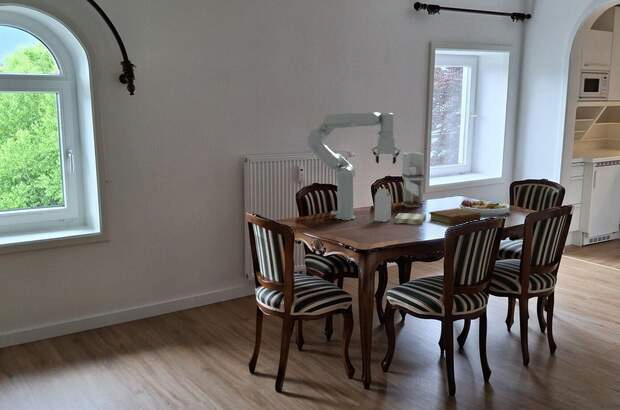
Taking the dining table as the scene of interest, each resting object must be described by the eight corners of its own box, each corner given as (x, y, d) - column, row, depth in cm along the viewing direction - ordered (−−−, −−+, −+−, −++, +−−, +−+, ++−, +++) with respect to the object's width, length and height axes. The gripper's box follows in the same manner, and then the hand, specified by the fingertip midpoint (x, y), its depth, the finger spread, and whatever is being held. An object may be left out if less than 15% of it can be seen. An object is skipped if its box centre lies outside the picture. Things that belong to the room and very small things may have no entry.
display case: (401, 204, 416) (402, 152, 410) (416, 203, 418) (417, 152, 412) (407, 207, 405) (408, 154, 399) (422, 206, 407) (423, 154, 401)
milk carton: (384, 222, 358) (385, 190, 355) (374, 220, 362) (374, 189, 359) (391, 220, 363) (391, 188, 360) (380, 218, 368) (380, 187, 364)
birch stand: (394, 223, 355) (394, 218, 354) (398, 218, 370) (398, 213, 369) (422, 224, 350) (422, 219, 350) (425, 219, 365) (425, 214, 365)
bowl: (503, 208, 398) (504, 196, 397) (514, 217, 369) (514, 204, 367) (456, 208, 401) (457, 196, 400) (463, 217, 372) (463, 204, 370)
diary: (451, 227, 346) (451, 217, 345) (428, 221, 362) (429, 212, 360) (480, 222, 357) (480, 212, 356) (457, 217, 373) (457, 207, 372)
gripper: (370, 134, 355) (369, 163, 358) (400, 134, 350) (399, 164, 353) (373, 133, 362) (372, 162, 365) (402, 134, 357) (401, 163, 360)
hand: (385, 163), depth 359 cm, fingers open, 9 cm apart
